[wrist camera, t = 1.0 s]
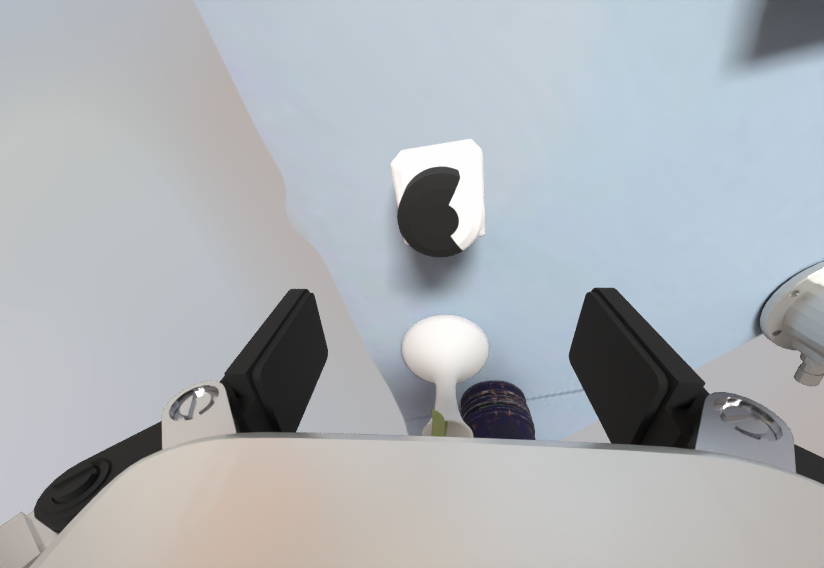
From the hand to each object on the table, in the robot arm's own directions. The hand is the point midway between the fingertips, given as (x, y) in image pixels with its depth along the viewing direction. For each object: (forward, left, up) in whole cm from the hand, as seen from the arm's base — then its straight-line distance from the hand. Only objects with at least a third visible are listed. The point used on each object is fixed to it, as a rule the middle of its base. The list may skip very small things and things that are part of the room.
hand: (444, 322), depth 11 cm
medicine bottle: (0, 0, -24) cm, 24 cm away
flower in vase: (-20, +3, -24) cm, 31 cm away
